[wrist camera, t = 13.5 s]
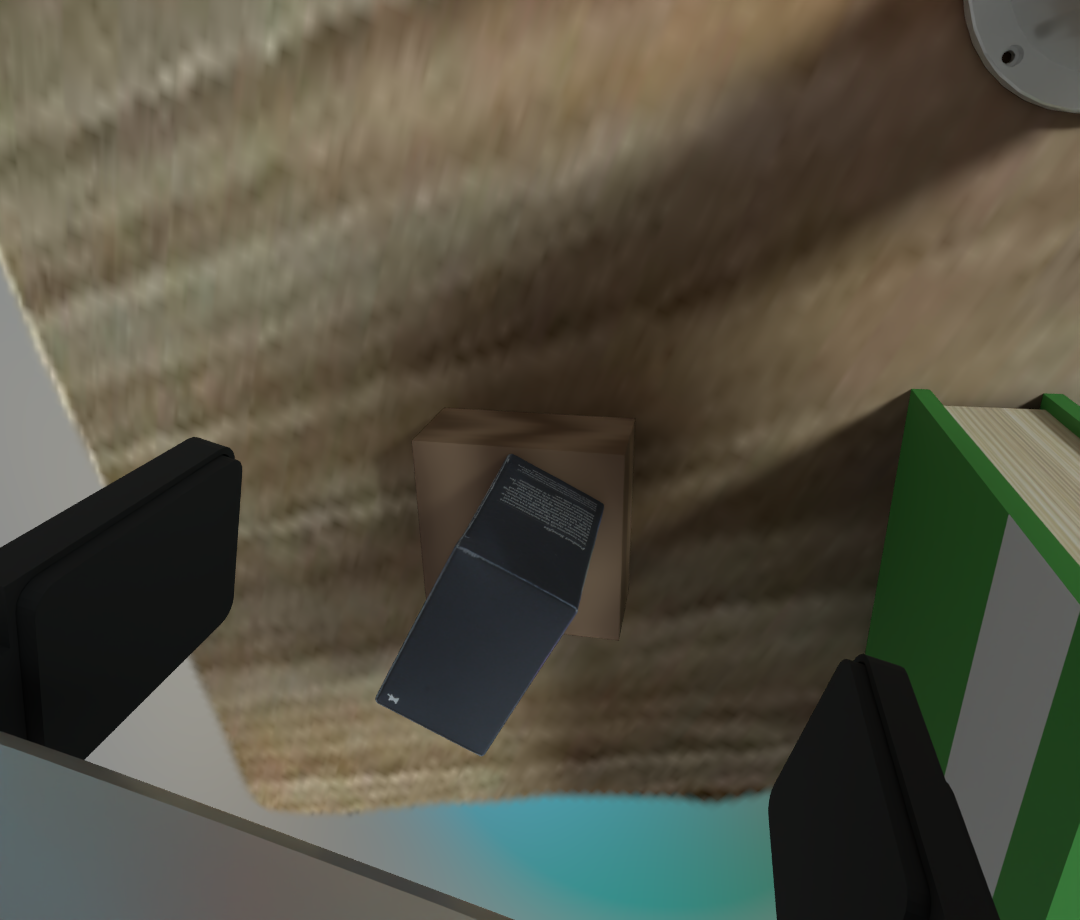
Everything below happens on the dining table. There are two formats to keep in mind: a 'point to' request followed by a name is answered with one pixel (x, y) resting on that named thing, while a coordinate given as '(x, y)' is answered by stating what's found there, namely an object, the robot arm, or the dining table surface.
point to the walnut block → (557, 448)
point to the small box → (496, 607)
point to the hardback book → (994, 631)
